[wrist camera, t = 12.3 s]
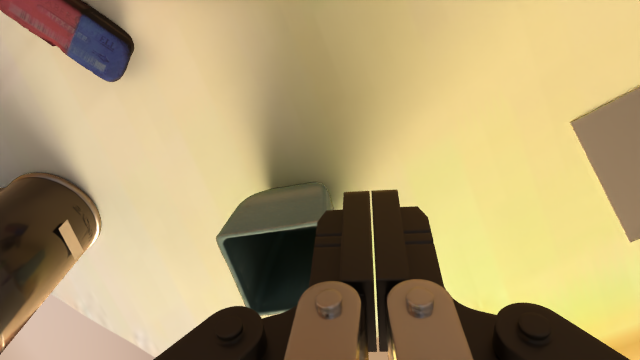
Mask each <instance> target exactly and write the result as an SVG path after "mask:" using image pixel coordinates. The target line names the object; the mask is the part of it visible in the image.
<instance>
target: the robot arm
mask: <svg viewBox="0 0 640 360" xmlns="http://www.w3.org/2000/svg"><path fill="white" fill-rule="evenodd" d="M372 209H373V229H374V249H375V269H376V289H377V309H378V329H379V348H380V349H379V350H380V351H381V352H385V351H386V352H387V351H388V359H389V360H629V359H628V358H626V357H625V356H623V355H622V354H620V353H618V352H617V351H615V350H614V349H612V348H610V347H609V346H607V345H606V344H604V343H603V342H601V341H599V340H598V339H596V338H595V337H593V336H592V335H590V334H588V333H587V332H585V331H584V330H582V329H580V328H579V327H577V326H576V325H574V324H573V323H571V322H569V321H568V320H566V319H565V318H563V317H561V316H560V315H558V314H557V313H555V312H553V311H552V310H550V309H548V308H545V307H543V306H540V305H537V304H531V303H515V304H511V305H508V306H506V307H504V308H503V309H501V310H500V311H499V313H498V314H497V315H493V314H489V313H485V312H481V311H477V310H473V309H470V308H468V307H466V306H464V305H462V304H460V303H458V302H457V301H456V300H454V299H453V298H452V297H451V295H450V294H449V293H448V292H447V291H446V289H445V287H444V284H443V281H442V276H441V272H440V268H439V263H438V259H437V255H436V250H435V246H434V244H433V237H432V233H431V229H430V225H429V220H428V217H427V216H426V215H425V214H424V213H423V212H422V211H421V210H420V209H419V208H418V206H417V207H400V204H399V197H398V191H397V190H378V191H372ZM100 231H101V218H100V215H99V212H98V210H97V208H96V206H95V205H94V203H93V202H92V200H91V199H90V198H89V197H88V196H87V195H86V194H85V193H84V192H83V191H82V190H81V189H79V188H78V187H77V186H75V185H74V184H72V183H71V182H69V181H67V180H65V179H63V178H60V177H58V176H55V175H51V174H46V173H28V174H24V175H21V176H19V177H18V178H16V179H15V180H14V181H12V182H11V183H10V184H9V185H8V186H7V187H6V188H0V354H1V353H2V352H3V350H4V349H5V348H6V347H7V345H8V344H9V343H10V342H11V341H12V339H13V338H14V337H15V336H16V335H17V333H18V332H19V331H20V330H21V328H22V327H23V326H24V325H25V324H26V322H27V321H28V320H29V319H30V318H31V316H32V315H33V314H34V313H35V312H36V310H37V309H38V308H39V307H40V305H41V304H42V303H43V302H44V301H45V299H46V298H47V297H48V295H50V293H51V292H52V291H53V290H54V288H55V287H56V286H57V285H58V284H59V282H60V281H61V280H62V279H63V278H64V276H65V275H66V274H67V273H68V271H69V270H70V269H71V268H72V267H73V265H74V264H75V263H76V262H77V261H78V259H79V258H80V257H81V256H82V255H83V253H84V252H85V251H86V250H87V248H88V247H90V246H91V245H92V244H93V243H94V241H95V240H96V239H97V238H98V236H99V234H100ZM368 352H377V345H376V322H375V299H374V275H373V253H372V232H371V213H370V194H369V191H358V192H344V198H343V210H326V211H325V213H324V214H323V215H322V216H321V218H320V219H319V220H318V222H317V228H316V237H315V243H314V251H313V259H312V266H311V274H310V281H309V288H308V289H307V290H306V291H305V292H304V293H303V294H302V295H301V297H300V299H299V302H298V304H297V305H296V306H295V307H293V308H292V309H290V310H288V311H286V312H283V313H280V314H277V315H273V316H270V317H266V318H263V319H261V317H260V315H259V314H258V313H257V312H256V311H255V310H253V309H251V308H248V307H243V306H234V307H229V308H225V309H222V310H220V311H218V312H216V313H214V314H213V315H211V316H210V317H209V318H208V319H206V320H205V321H204V322H202V323H201V324H200V325H198V326H197V327H196V328H194V329H193V330H192V331H190V332H189V333H188V334H187V335H185V336H184V337H183V338H181V339H180V340H179V341H177V342H176V343H175V344H173V345H172V346H171V347H169V348H168V349H167V350H165V351H164V352H163V353H162V354H160V355H159V356H158V357H156V358H155V359H154V360H368Z"/></svg>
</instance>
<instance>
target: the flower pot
mask: <svg viewBox="0 0 640 360" xmlns="http://www.w3.org/2000/svg"><path fill="white" fill-rule="evenodd" d="M326 210H333V207H332V203H331V199H330V195H329V192H328V190H327V188H326V187H325V186H324V185H323V184H321V183H317V182H312V183H306V184H300V185H294V186H288V187H282V188H275V189H269V190H266V191H262V192H259V193H256V194H254V195H252V196H250V197H248V198H247V199H245V200H244V201H243V202H242V203H241V204H240V205H239V206H238V207H237V208H236V210H235V211H234V212H233V214H232V215H231V217H230V218H229V219H228V221H227V222H226V224H225V225H224V227H223V228H222V230H221V231H220V233H219V234H218V235H217V237H216V241H217V244H218V246H219V248H220V250H221V253H222V255H223V257H224V259H225V261H226V263H227V265H228V267H229V270H230V272H231V274H232V276H233V278H234V280H235V283H236V285H237V288H238V290H239V292H240V295H241V297H242V299H243V301H244V304H245V306H246V307H248V308H251V309H253V310H255V311H256V312H257V313H258V314H259V315H260V316H265V315H275V314H280V313H283V312H286V311H288V310H290V309H292V308H293V307H295V306H296V305H297V304H298V302H299V299H300V297H301V295H302V294H303V293H304V292H305V291H306V290H307V289H308V288H309V281H310V274H311V266H312V259H313V251H314V243H315V237H316V228H317V222H318V220H319V219H320V218H321V216H322V215H323V214H324V213H325V211H326Z"/></svg>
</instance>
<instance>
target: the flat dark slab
mask: <svg viewBox="0 0 640 360" xmlns="http://www.w3.org/2000/svg"><path fill="white" fill-rule="evenodd" d="M570 124H571V126H572V128H573V130H574V132H575V134H576V136H577V138H578V140H579V142H580V144H581V146H582V148H583V150H584V152H585V154H586V156H587V158H588V160H589V162H590V164H591V166H592V168H593V170H594V172H595V174H596V176H597V178H598V180H599V182H600V184H601V186H602V188H603V190H604V192H605V194H606V196H607V198H608V200H609V202H610V204H611V206H612V208H613V210H614V212H615V214H616V216H617V218H618V220H619V222H620V224H621V226H622V228H623V230H624V232H625V234H626V236H627V238H628V240H629V242H633V241H635V240H638V239H640V87H638V88H636V89H635V90H633V91H631V92H629V93H627V94H625V95H623V96H621V97H619V98H617V99H615V100H613V101H611V102H609V103H607V104H605V105H603V106H602V107H600V108H598V109H596V110H594V111H592V112H590V113H588V114H586V115H584V116H582V117H580V118H578V119H576V120H574V121H572V122H570Z"/></svg>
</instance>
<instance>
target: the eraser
mask: <svg viewBox="0 0 640 360" xmlns="http://www.w3.org/2000/svg"><path fill="white" fill-rule="evenodd" d="M0 10H1V11H2V12H3V13H5V14H6V15H7V16H9V17H10V18H12V19H14V20H15V21H17V22H18V23H19V24H21V25H22V26H23V27H25V28H27V29H29V31H30V32H32V33H34V34H35V35H37V36H39V37H40V38H42V39H43V40H45V41H46V42H47V43H49V44H50V45H52V46H58V47H59V48H60V49H61V50H62V51H63V52H64V53H65V54H66V55H67V56H69V57H70V58H72V59H73V60H75V61H76V62H77V63H79V64H80V65H82V66H83V67H85V68H86V69H88V70H90V71H92V72H93V73H94V74H95V75H97V76H99V77H100V78H102V79H104V80H106V81H109V82H114V81H117V80H119V79H120V78H121V77H122V76H123V74H124V72H125V70H126V68H127V65H128V62H129V60H130V57H131V55H132V53H133V51H134V43H133V41H132V38H131V37H130V35H129V34H128V33H127V32H125V31H124V30H123V29H122V28H120V27H119V26H118V25H116V24H115V23H114V22H112V21H111V20H109V19H108V18H107V17H105V16H104V15H102V14H101V13H99V12H98V11H97V10H95V9H94V8H92V7H91V6H89V5H88V4H86V3H85V2H83V1H82V0H0Z"/></svg>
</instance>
